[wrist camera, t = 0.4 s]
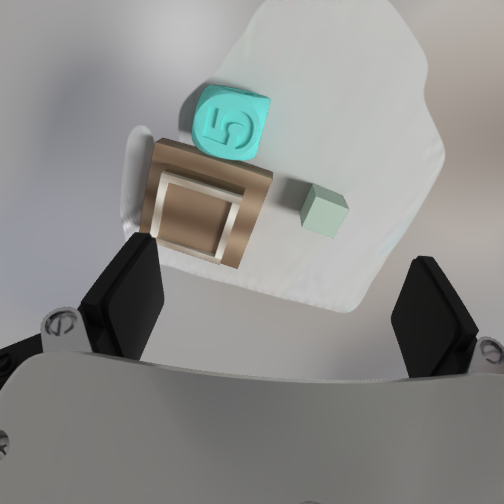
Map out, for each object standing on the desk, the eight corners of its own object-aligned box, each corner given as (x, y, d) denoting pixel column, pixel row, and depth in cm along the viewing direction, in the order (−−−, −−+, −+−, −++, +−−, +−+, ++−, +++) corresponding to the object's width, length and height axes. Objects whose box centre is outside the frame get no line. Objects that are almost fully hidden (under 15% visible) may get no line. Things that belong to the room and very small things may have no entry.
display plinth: (162, 137, 41) (144, 149, 36) (273, 172, 43) (271, 189, 37) (145, 227, 50) (129, 248, 44) (239, 258, 52) (234, 283, 46)
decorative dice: (214, 84, 37) (199, 86, 30) (271, 96, 37) (269, 101, 30) (202, 137, 41) (187, 151, 34) (257, 150, 42) (252, 166, 35)
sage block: (312, 183, 43) (316, 196, 39) (342, 195, 44) (349, 209, 40) (299, 211, 46) (301, 227, 42) (329, 222, 47) (333, 239, 43)
